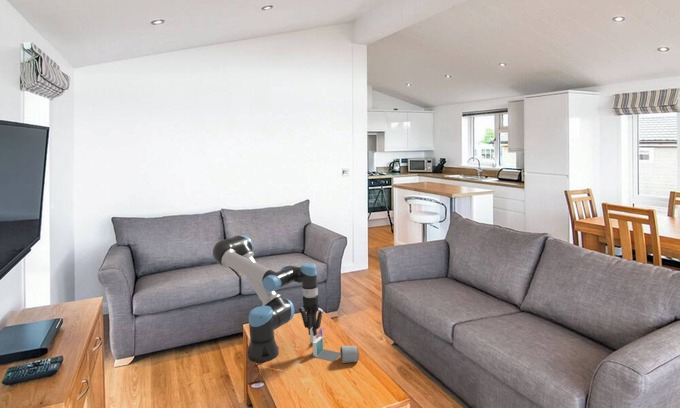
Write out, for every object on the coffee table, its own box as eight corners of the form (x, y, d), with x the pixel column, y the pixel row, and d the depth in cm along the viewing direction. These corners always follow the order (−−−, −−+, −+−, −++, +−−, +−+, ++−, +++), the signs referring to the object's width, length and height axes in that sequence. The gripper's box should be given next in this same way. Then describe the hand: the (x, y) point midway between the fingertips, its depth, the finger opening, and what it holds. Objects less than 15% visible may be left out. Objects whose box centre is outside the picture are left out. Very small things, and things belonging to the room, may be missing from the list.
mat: (308, 357, 206) (308, 356, 206) (317, 348, 214) (317, 348, 214) (334, 362, 200) (334, 361, 200) (342, 353, 208) (342, 353, 208)
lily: (329, 337, 228) (320, 322, 229) (339, 336, 219) (329, 320, 219) (312, 351, 222) (302, 335, 222) (322, 351, 212) (312, 334, 212)
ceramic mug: (359, 364, 198) (359, 348, 197) (342, 366, 196) (341, 350, 195) (355, 353, 208) (355, 338, 207) (339, 355, 207) (338, 340, 206)
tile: (313, 356, 206) (312, 342, 205) (320, 349, 212) (319, 336, 211) (316, 356, 205) (315, 343, 204) (323, 350, 212) (322, 337, 211)
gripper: (294, 296, 205) (297, 342, 209) (318, 299, 200) (321, 346, 203) (302, 291, 212) (305, 336, 215) (325, 294, 206) (328, 340, 210)
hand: (313, 341), depth 209 cm, fingers closed
